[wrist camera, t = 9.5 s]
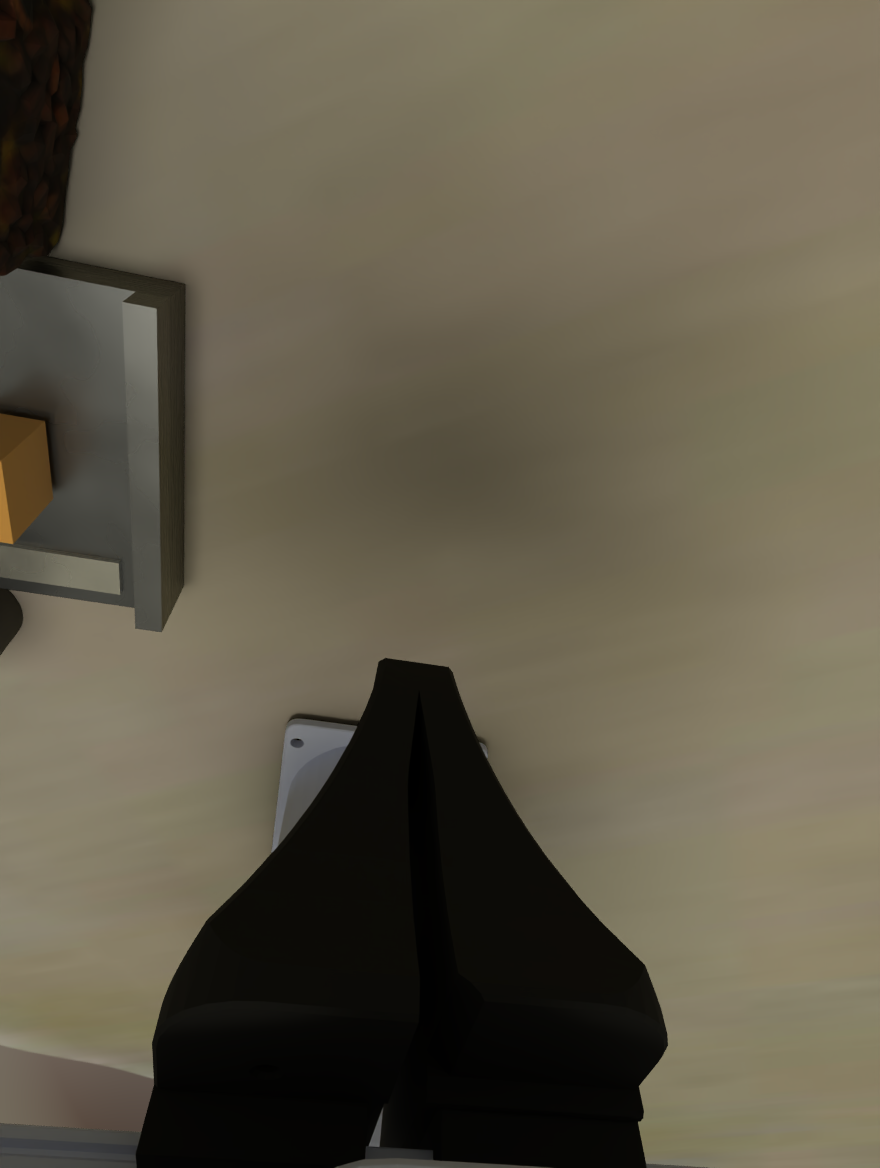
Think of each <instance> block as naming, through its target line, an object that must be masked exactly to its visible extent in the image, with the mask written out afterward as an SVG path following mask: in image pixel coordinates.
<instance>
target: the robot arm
mask: <svg viewBox="0 0 880 1168" xmlns="http://www.w3.org/2000/svg"><path fill="white" fill-rule="evenodd" d="M296 738H298V739H301V740H295V739H296ZM487 758H488V751H487V747H486V745H484V744H483V743H480V742H479V741H478V739H477V736H476V734H475V732H474V730H473V727H472V725H471V723H470V720H469V718H468V715H467V713H466V710H465V708H464V705H463V702H462V700H461V697H460V694H459V691H458V688H457V685H456V682H455V679H454V676H453V672H452V671H451V670H450V668H449V667H444V666H437V665H430V664H423V663H416V662H409V661H402V660H395V659H388V658H385V659H383V660H381V661H379V662H378V667H377V672H376V677H375V682H374V687H373V691H372V693H371V696H370V699H369V701H368V704H367V706H366V709H365V711H364V713H363V715H362V717H361V719H360V722H359V724H358V726H354V725H346V724H338V723H331V722H323V721H316V720H308V719H293V720H291V721H289V722H288V724H287V726H286V731H285V739H284V747H283V756H282V765H281V774H280V782H279V791H278V800H277V809H276V817H275V826H274V835H273V844H272V852H271V855H270V856H269V857H268V858H267V859H266V860H265V861H264V862H263V864H262V865H261V866H260V867H259V868H258V869H257V870H256V871H255V873H254V874H253V875H252V876H251V877H250V878H249V879H248V880H247V881H246V882H245V883H244V884H243V885H242V886H241V887H240V888H239V889H238V890H237V891H236V892H235V893H234V894H233V895H232V896H231V897H230V898H229V899H228V900H227V901H226V902H225V903H224V904H223V905H222V906H221V907H220V908H219V909H218V910H217V911H216V912H215V913H214V914H213V915H212V916H211V917H210V918H209V919H208V920H207V921H206V922H205V924H204V926H203V927H202V929H201V931H200V932H199V934H198V935H197V937H196V938H195V940H194V942H193V943H192V945H191V946H190V948H189V950H188V951H187V953H186V955H185V957H184V958H183V960H182V962H181V963H180V965H179V967H178V969H177V971H176V973H175V975H174V977H173V979H172V981H171V983H170V985H169V988H168V990H167V992H166V995H165V997H164V1000H163V1003H162V1007H161V1010H160V1014H159V1018H158V1022H157V1026H156V1030H155V1034H154V1038H153V1042H152V1049H153V1070H154V1087H153V1091H152V1095H151V1099H150V1102H149V1106H148V1110H147V1113H146V1117H145V1121H144V1124H143V1128H142V1132H132V1131H116V1130H100V1129H84V1128H68V1127H51V1126H35V1125H20V1124H4V1123H0V1168H707V1167H691V1166H675V1165H659V1164H646V1162H645V1157H644V1152H643V1146H642V1141H641V1136H640V1131H639V1126H638V1121H641V1120H642V1119H643V1114H644V1110H643V1105H642V1100H641V1095H640V1090H639V1085H640V1084H641V1083H642V1081H643V1080H644V1079H645V1078H646V1077H647V1075H648V1074H649V1073H650V1072H651V1070H652V1069H653V1068H654V1067H655V1065H656V1064H657V1063H658V1062H659V1060H660V1059H661V1057H662V1056H663V1054H664V1052H665V1050H666V1048H667V1046H668V1039H667V1031H666V1027H665V1023H664V1019H663V1015H662V1011H661V1007H660V1005H659V1002H658V999H657V996H656V993H655V990H654V988H653V985H652V982H651V980H650V977H649V974H648V972H647V969H646V966H645V965H644V964H643V963H642V962H641V961H640V960H639V959H638V958H637V957H636V956H635V955H634V954H633V953H632V952H631V951H630V950H629V949H628V948H627V947H626V946H625V945H624V944H623V943H622V942H621V941H620V940H619V939H618V938H617V937H616V936H615V935H614V934H613V933H612V932H611V931H610V930H609V929H608V928H607V927H606V926H604V924H603V923H602V922H601V921H600V920H599V919H598V918H597V917H596V916H595V915H594V914H593V913H592V911H591V910H590V909H589V908H588V907H587V906H586V905H585V904H584V902H583V901H582V900H581V899H580V898H579V897H578V895H577V894H576V893H575V892H574V890H573V889H572V888H571V887H570V885H569V884H568V883H567V882H566V880H565V879H564V878H563V877H562V875H561V874H560V873H559V872H558V870H557V869H556V868H555V867H554V865H553V864H552V863H551V862H550V860H549V859H548V858H547V856H546V855H545V854H544V852H543V851H542V849H541V848H540V847H539V845H538V844H537V842H536V841H535V840H534V838H533V837H532V835H531V834H530V832H529V831H528V829H527V828H526V826H525V825H524V823H523V822H522V820H521V818H520V817H519V815H518V814H517V812H516V811H515V809H514V807H513V806H512V804H511V802H510V801H509V799H508V797H507V795H506V794H505V792H504V790H503V788H502V786H501V785H500V783H499V781H498V779H497V777H496V775H495V774H494V772H493V770H492V768H491V766H490V764H489V762H488V760H487Z"/></svg>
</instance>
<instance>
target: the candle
mask: <svg viewBox="0 0 880 1168" xmlns="http://www.w3.org/2000/svg"><path fill="white" fill-rule="evenodd" d="M91 10H92V9H91V6H90V3H89V0H0V276H5V275H7V274H9V273H10V272H12V271H14V270H15V269H17V268H19V267H20V265H21V264H22V262H23V261H24V260H25V258H26V257H27V256H29V257H32V258H36V257H43V256H48V255H49V253H50V252H51V250H52V249H53V247H54V246H55V244H56V243H57V242H58V241H59V237H60V232H61V228H62V221H63V211H64V202H65V193H66V185H67V177H68V169H69V155H70V149H71V147H72V145H73V143H74V141H75V139H76V137H77V133H76V129H75V126H76V122H77V118H78V114H79V109H80V99H81V88H82V63H83V60H84V56H85V53H86V49H87V45H88V38H89V30H90V21H91Z"/></svg>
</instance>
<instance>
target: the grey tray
mask: <svg viewBox="0 0 880 1168" xmlns="http://www.w3.org/2000/svg"><path fill="white" fill-rule="evenodd" d="M184 382H185V284H182V283H177V282H172V281H167V280H162V279H157V278H152V277H146V276H141V275H136V274H131V273H126V272H121V271H116V270H111V269H106V268H101V267H96V266H91V265H86V264H81V263H76V262H71V261H66V260H61V259H56V258H51V257H46V256H43V257H36V258H32V257H29V256H27V257H26V258H25V260H24V261H23V262H22V264H21V265H20V267H19V268H17V269H15V270H14V271H12V272H10V273H9V274H7V275H5V276H0V413H1V414H7V415H13V416H18V417H24V418H30V419H36V420H41V421H45V425H46V435H47V444H48V454H49V463H50V472H51V482H52V491H53V500H52V501H51V502H50V503H49V504H48V505H47V506H46V508H45V509H44V510H43V511H42V512H41V513H40V514H39V516H38V517H37V518H36V519H35V520H34V521H33V522H32V523H31V525H30V526H29V527H28V528H27V529H26V530H25V531H24V532H23V534H22V535H21V536H20V537H19V538H18V539H17V540H16V542H15V543H14V544H9V543H3V542H0V588H2V589H9V590H16V591H23V592H30V593H36V594H43V595H50V596H57V597H64V598H71V599H78V600H84V601H91V602H98V603H105V604H112V605H119V606H126V607H132V608H135V628H136V629H143V630H150V631H157V632H162V631H163V629H164V626H165V624H166V622H167V620H168V618H169V616H170V614H171V612H172V610H173V608H174V606H175V603H176V601H177V599H178V597H179V595H180V593H181V591H182V589H183V583H184Z"/></svg>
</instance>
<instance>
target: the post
mask: <svg viewBox="0 0 880 1168" xmlns="http://www.w3.org/2000/svg"><path fill="white" fill-rule="evenodd" d="M22 621H23V614H22V610H21V607H20V605H19V603H18V601H17V600H16V598H15V597H14V596H13V595H12V594H11V592H10V591H8V590H7V589H2V588H0V655H1V654H2V652H3V651H4V650H5V648H6V647H7V646H8V644H9V643H10V642H11V640H12V639H13V637H14V636H15V635H16V633H17V632H18V631H19V629H20V627H21V625H22Z"/></svg>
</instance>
